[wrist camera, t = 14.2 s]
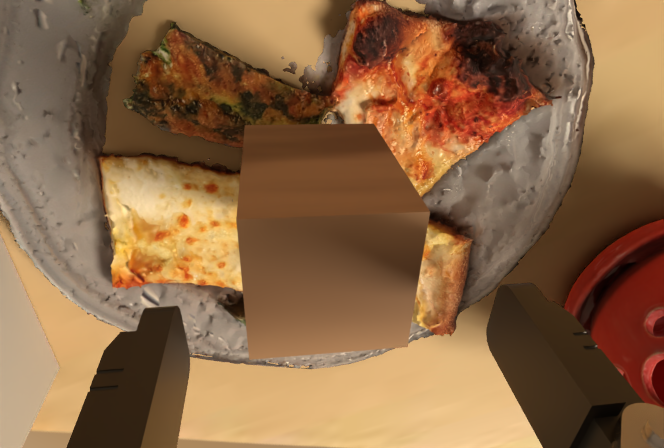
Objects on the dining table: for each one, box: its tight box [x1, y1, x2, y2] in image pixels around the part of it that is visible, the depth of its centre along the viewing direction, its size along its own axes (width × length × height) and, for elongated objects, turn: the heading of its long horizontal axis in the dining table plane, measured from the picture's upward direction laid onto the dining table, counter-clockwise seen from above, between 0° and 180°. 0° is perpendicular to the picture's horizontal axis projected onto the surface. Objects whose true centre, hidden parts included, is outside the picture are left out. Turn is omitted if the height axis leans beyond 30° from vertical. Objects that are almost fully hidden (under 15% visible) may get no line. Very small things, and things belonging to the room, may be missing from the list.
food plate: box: [0, 0, 595, 369], centre depth 20 cm, size 25×23×4 cm
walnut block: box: [236, 123, 430, 360], centre depth 16 cm, size 5×5×7 cm
